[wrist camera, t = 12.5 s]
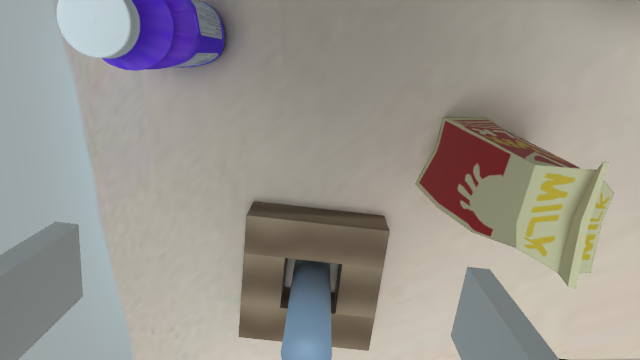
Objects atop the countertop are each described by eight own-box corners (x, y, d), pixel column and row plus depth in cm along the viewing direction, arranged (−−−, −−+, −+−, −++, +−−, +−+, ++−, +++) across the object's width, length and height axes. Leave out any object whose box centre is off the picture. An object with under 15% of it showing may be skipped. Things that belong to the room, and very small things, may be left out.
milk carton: (493, 214, 44) (624, 336, 24) (413, 187, 43) (482, 291, 24) (533, 133, 41) (713, 200, 22) (448, 103, 40) (558, 145, 21)
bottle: (224, -1, 38) (144, -47, 21) (233, 62, 40) (165, 66, 23) (147, 7, 38) (9, -32, 22) (159, 69, 40) (40, 78, 23)
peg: (296, 249, 45) (283, 330, 32) (332, 253, 45) (334, 335, 32) (292, 281, 46) (278, 372, 33) (327, 285, 46) (328, 377, 33)
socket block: (253, 201, 44) (246, 215, 40) (384, 216, 44) (389, 231, 40) (245, 314, 48) (238, 336, 44) (365, 327, 48) (368, 350, 44)
